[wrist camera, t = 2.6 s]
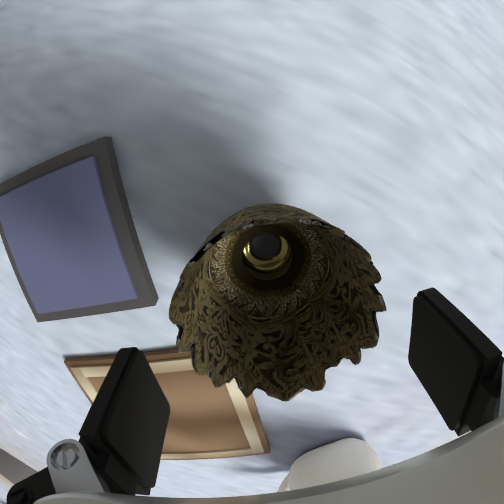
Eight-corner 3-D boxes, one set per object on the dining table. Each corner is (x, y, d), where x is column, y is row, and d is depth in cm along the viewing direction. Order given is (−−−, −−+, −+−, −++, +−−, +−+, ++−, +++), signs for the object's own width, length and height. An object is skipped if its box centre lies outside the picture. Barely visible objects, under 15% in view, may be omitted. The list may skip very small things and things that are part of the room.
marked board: (66, 357, 20) (62, 363, 20) (235, 339, 20) (235, 346, 19) (136, 455, 25) (135, 460, 25) (270, 448, 25) (270, 454, 24)
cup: (254, 323, 19) (261, 425, 12) (171, 238, 17) (125, 316, 10) (352, 253, 18) (415, 331, 10) (277, 151, 16) (310, 167, 8)
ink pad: (-5, 188, 15) (-15, 192, 14) (110, 136, 15) (101, 137, 14) (43, 315, 19) (35, 324, 18) (158, 298, 18) (154, 308, 17)
